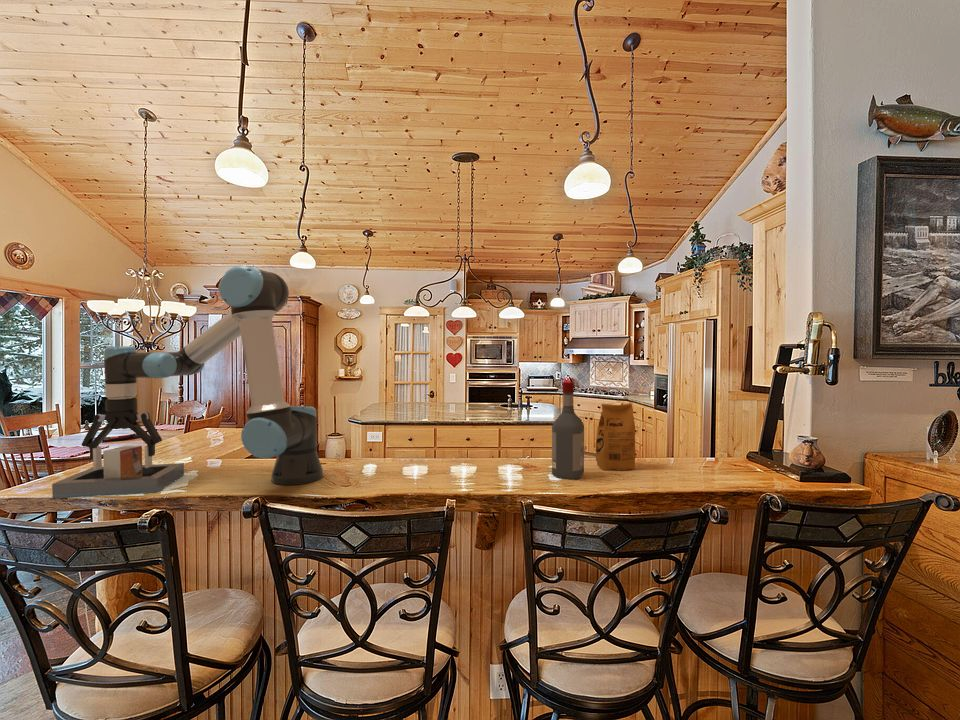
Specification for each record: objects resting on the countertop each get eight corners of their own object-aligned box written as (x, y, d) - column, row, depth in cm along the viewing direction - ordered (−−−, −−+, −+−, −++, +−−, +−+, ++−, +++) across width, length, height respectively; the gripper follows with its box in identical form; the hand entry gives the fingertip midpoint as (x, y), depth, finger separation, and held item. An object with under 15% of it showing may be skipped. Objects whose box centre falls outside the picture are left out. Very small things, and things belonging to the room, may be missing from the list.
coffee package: (593, 463, 166) (593, 401, 165) (628, 463, 166) (628, 401, 165) (600, 471, 156) (601, 405, 155) (638, 471, 156) (638, 405, 155)
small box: (120, 486, 136) (119, 451, 136) (103, 486, 137) (102, 450, 137) (143, 479, 144) (142, 445, 144) (127, 478, 145) (126, 444, 145)
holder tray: (184, 475, 152) (183, 463, 152) (157, 492, 134) (156, 478, 134) (93, 479, 147) (92, 467, 147) (52, 498, 129) (52, 483, 129)
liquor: (585, 473, 153) (585, 382, 152) (578, 480, 145) (579, 384, 144) (557, 470, 157) (558, 381, 156) (550, 477, 148) (550, 383, 148)
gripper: (173, 395, 146) (174, 462, 147) (81, 397, 141) (84, 467, 142) (161, 397, 139) (163, 468, 139) (64, 400, 134) (67, 473, 134)
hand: (123, 468), depth 141 cm, fingers open, 13 cm apart
